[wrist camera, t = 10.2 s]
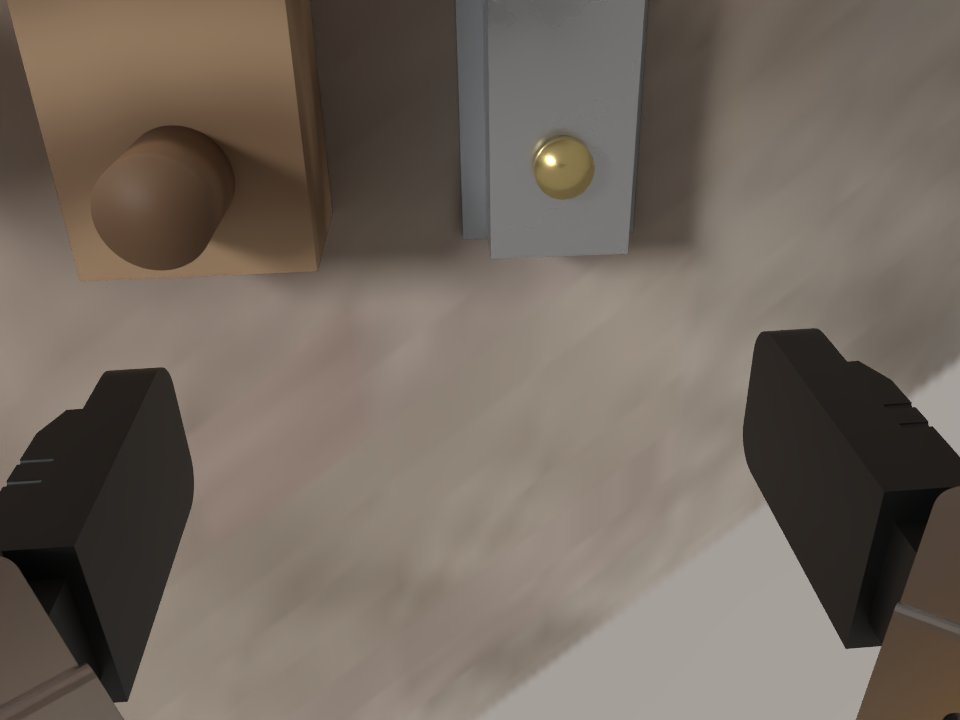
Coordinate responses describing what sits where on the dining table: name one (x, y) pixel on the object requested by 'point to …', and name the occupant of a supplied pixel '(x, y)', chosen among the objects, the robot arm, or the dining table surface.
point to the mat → (473, 116)
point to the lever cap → (560, 124)
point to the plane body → (181, 133)
